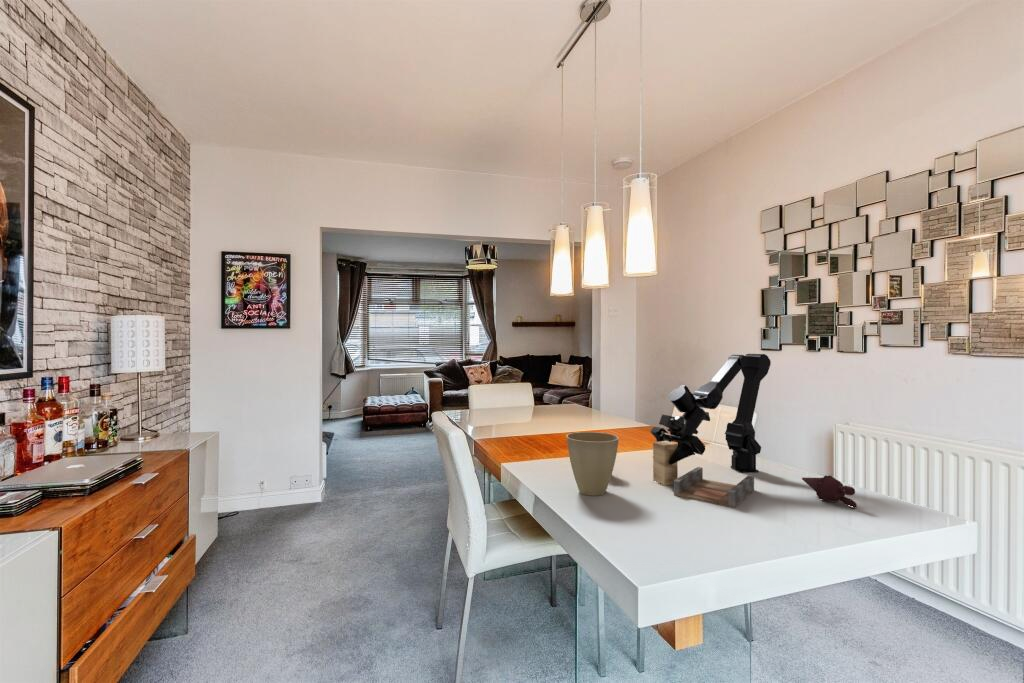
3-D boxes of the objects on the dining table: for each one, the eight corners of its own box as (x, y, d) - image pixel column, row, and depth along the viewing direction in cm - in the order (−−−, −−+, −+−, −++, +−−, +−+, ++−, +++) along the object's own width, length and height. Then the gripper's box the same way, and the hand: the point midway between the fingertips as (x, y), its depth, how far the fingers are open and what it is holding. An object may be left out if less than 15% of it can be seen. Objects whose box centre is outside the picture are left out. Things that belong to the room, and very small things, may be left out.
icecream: (791, 471, 132) (843, 492, 118) (810, 462, 134) (864, 481, 120) (794, 493, 133) (846, 517, 119) (813, 484, 135) (867, 506, 121)
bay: (697, 479, 146) (697, 466, 146) (754, 490, 136) (753, 476, 136) (673, 494, 132) (673, 480, 132) (734, 507, 121) (734, 492, 121)
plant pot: (619, 502, 126) (619, 442, 126) (564, 498, 129) (564, 440, 129) (618, 485, 141) (618, 432, 141) (568, 482, 144) (568, 430, 144)
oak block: (666, 479, 147) (665, 440, 147) (677, 483, 143) (677, 443, 143) (653, 481, 145) (653, 442, 145) (664, 485, 141) (664, 445, 141)
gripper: (654, 401, 154) (627, 438, 150) (697, 409, 137) (667, 450, 133) (673, 424, 157) (647, 460, 153) (718, 433, 140) (689, 475, 136)
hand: (661, 461), depth 143 cm, fingers open, 7 cm apart
